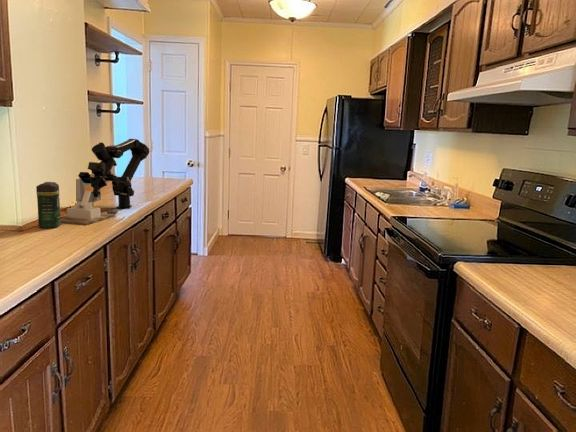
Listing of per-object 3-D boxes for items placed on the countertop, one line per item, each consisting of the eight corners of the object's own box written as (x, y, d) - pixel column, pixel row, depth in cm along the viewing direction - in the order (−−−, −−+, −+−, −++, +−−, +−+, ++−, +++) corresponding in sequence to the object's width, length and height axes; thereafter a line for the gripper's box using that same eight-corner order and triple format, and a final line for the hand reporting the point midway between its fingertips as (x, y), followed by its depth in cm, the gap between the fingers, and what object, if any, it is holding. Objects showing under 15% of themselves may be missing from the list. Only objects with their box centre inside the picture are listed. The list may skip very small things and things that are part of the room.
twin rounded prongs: (96, 211, 222) (96, 207, 222) (118, 213, 219) (118, 209, 219) (87, 213, 215) (87, 209, 215) (109, 215, 213) (109, 211, 212)
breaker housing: (77, 214, 208) (76, 200, 207) (100, 216, 206) (100, 202, 205) (67, 217, 202) (66, 202, 200) (90, 219, 199) (90, 204, 198)
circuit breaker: (95, 209, 225) (93, 180, 222) (69, 207, 228) (68, 178, 225) (104, 207, 232) (102, 178, 230) (79, 205, 235) (77, 176, 232)
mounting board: (81, 213, 215) (81, 211, 215) (114, 216, 212) (114, 214, 211) (51, 221, 196) (51, 219, 196) (87, 225, 192) (87, 222, 192)
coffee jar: (57, 228, 185) (54, 183, 181) (36, 229, 183) (33, 183, 179) (63, 223, 194) (60, 180, 190) (43, 223, 192) (40, 180, 188)
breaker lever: (81, 208, 204) (87, 187, 207) (87, 208, 203) (93, 188, 206) (78, 206, 202) (85, 185, 205) (85, 207, 201) (91, 186, 204)
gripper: (79, 154, 211) (64, 180, 203) (115, 156, 207) (101, 183, 199) (91, 170, 220) (77, 195, 212) (125, 172, 217) (112, 198, 208)
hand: (91, 192), depth 208 cm, fingers closed
